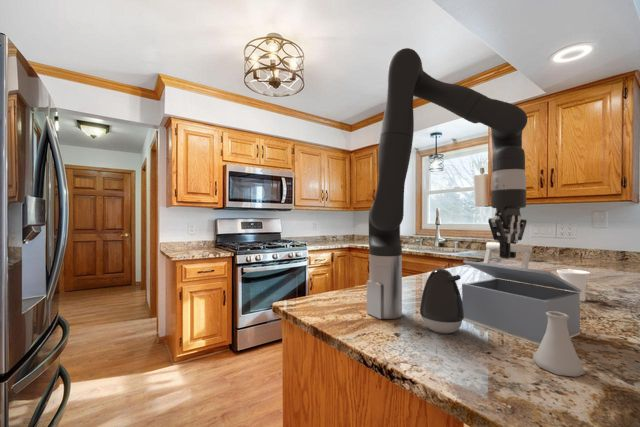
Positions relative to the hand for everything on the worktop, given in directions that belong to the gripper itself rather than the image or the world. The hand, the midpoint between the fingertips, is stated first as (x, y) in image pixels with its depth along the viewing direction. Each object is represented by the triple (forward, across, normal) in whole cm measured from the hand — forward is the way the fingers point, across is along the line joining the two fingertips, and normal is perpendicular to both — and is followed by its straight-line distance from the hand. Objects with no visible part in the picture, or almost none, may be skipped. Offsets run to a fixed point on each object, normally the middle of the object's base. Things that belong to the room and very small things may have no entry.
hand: (507, 257), depth 74 cm
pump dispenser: (+18, -15, +8) cm, 25 cm away
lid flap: (+5, +5, 0) cm, 7 cm away
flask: (+18, -12, -15) cm, 26 cm away
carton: (+18, +4, 0) cm, 18 cm away
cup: (+17, +50, +5) cm, 53 cm away
